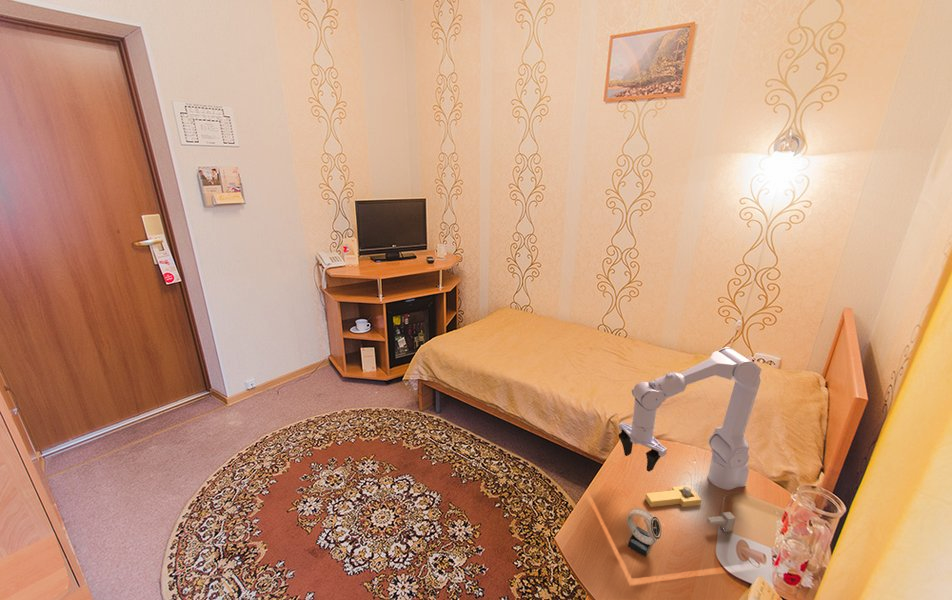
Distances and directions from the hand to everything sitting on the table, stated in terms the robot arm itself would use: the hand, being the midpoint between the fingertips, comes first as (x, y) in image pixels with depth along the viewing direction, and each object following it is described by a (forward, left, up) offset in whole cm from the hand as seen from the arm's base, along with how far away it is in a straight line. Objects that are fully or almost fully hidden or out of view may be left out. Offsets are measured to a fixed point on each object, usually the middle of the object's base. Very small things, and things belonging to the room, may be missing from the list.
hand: (638, 461), depth 114 cm
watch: (+8, +19, -10) cm, 23 cm away
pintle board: (-9, +10, -10) cm, 17 cm away
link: (-7, +7, -9) cm, 13 cm away
